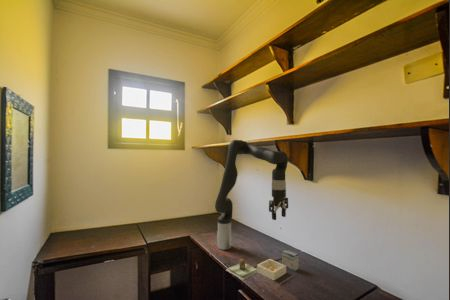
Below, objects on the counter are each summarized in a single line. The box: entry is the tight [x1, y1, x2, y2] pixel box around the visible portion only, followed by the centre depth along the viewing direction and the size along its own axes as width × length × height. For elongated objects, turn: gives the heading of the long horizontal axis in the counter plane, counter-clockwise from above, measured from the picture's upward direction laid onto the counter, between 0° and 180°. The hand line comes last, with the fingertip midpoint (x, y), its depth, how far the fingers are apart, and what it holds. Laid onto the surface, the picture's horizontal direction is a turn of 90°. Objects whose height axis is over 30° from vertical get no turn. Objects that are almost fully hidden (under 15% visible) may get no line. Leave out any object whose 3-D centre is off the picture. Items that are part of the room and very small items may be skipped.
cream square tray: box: [256, 258, 287, 281], centre depth 124 cm, size 11×11×4 cm
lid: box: [227, 258, 257, 278], centre depth 126 cm, size 11×11×6 cm
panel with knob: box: [225, 268, 257, 281], centre depth 126 cm, size 13×13×1 cm
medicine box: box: [281, 249, 299, 272], centre depth 130 cm, size 8×4×9 cm, turn 45°
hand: (278, 218), depth 125 cm, fingers open, 8 cm apart
